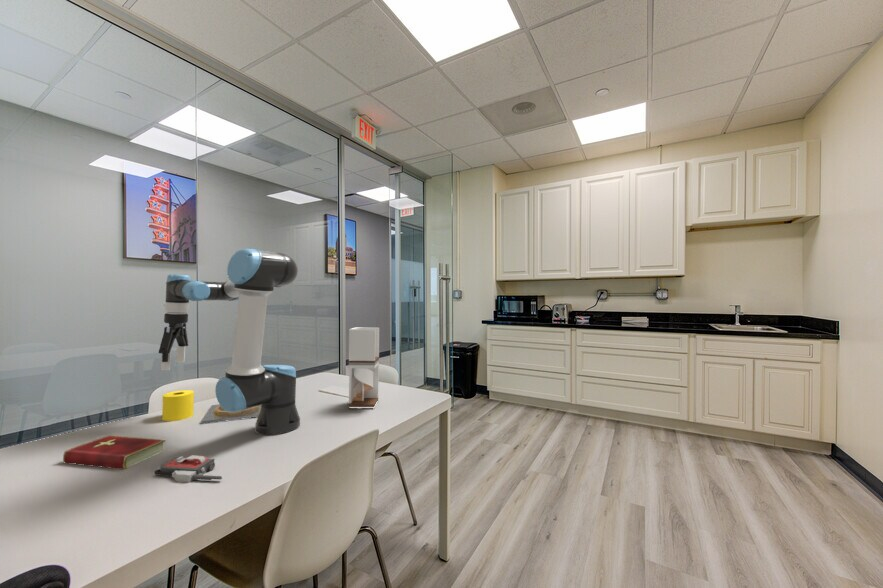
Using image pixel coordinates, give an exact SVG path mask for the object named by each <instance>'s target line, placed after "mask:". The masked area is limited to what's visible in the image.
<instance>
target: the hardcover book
mask: <svg viewBox="0 0 883 588" xmlns="http://www.w3.org/2000/svg"><path fill="white" fill-rule="evenodd" d="M165 442H166V439H159V438H148V437H147V438H145V437H137V436H136V437H134V436H125V435H124V436H123V435H122V436H121V435H120V436H119V435H114V434H113V435H112V434H111V435H106V436H104V437H100V438H97V439H95V440H91V441H89V442H86V443H83V444H80V445H77V446H74V447H72V448H69V449H66V450H64V452H63V458H62V461H63V463H64V462H65V463H64V464H69V463H76V464H75V465H78V464H84V465H83V466H88V465H93V466H92V467H98V466H102V467H101V468H107V467H111V469H117V468H118V470H127V469H128V468H130V467H133V466H135V465H136V463H137V464H139V463H141V462H143V461H145V459H146V460H148V459H150V458H152V457H154V456H157V455H158V454H161V453H163V452H164V443H165ZM156 454H157V455H156ZM149 457H150V458H149ZM147 458H148V459H147Z"/></svg>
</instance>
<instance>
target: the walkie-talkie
mask: <svg viewBox="0 0 883 588" xmlns="http://www.w3.org/2000/svg"><path fill="white" fill-rule="evenodd" d="M215 467H216V462H215V458H207V457H206V456H205V455H197V454H196V455H193V454H192V455H190V456H188V457H184V456H183V455H181V456H180V457H173V458H171V459H170V460H168V461H165V462H164V463H162V464H161V465H160V467H159V469H156V470H154V475H157V476H158V475H159V476H160V477H168V478H170V477H171V478H173V479H174V480H175V481H176V482H184V483H185V482H186V483H191V482H192V481H198V480H200V481H201V480H204V481H212V480H222V479H223V477H222V475H205V474H206V473H207V472H209V471H213V470H214V469H215Z"/></svg>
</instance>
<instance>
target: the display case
mask: <svg viewBox="0 0 883 588" xmlns="http://www.w3.org/2000/svg"><path fill="white" fill-rule="evenodd" d="M348 334H349V336H348V369H349V371H348V373H349V374H348V378H349V379H348V382H349V383H348V403H347V408H348V407H374V406H375V404H376V402H377V401H378V402H379V378H380V375H379V374H380V373H379V371H380V370H379V369H380V368H379V366H380V363H379V362H380V327H352V328H349V329H348Z"/></svg>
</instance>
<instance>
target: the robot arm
mask: <svg viewBox="0 0 883 588" xmlns="http://www.w3.org/2000/svg"><path fill="white" fill-rule="evenodd" d="M226 269H227V271H226V272H227V275H228V277H227V278H228V279H229V280H226V281H224V282H223V281H221V282H220V281H206V280H205V281H203V280H200V281H199V280H198V281H197V280H191V276H190V275H187V274H186V275H185V274H176V273H175V274H174V273H170V274H168V275H167V277H166V282H165V285H166V286H165V303H164V304H163V307H164V312H165V314H164V317H163V322H164V323H165V324H168V326H164V329H163V335H162V339H161V342H160V346H159V349H158V354H161V359H160V360H161V361H160V371H170V370H171V361H172V360H171V359H172V353H171V350H172V347H173V345H174V343H175V340H176V343H177V347H176V358H175V360H176V361H175V363H185V359H186V358H185V357H186V347H188V346H189V339H188V333H187V323H188V321H189V314H188V313H189V310H190V301H191V302H201V301H228V302H231V301H237V309H236V310H237V311H236V320H235V328H234V330H235V331H234V338H233V339H234V341H233V349H232V350H233V351H232V359H231V365H229V366H228V367H227V368H226V369H225V376H224V377H222V378H219V379H218V380H217V382H216V384H215V391H214V392H215V397H216V400H217V402H218V405H219V404H220V406H221V407H222V408H223V409H224V410H225V411H227V412H237V411H243V410H245V409H248V408H252V407H255V406H258V405H261V410H260V413H259V416H258V417H257V419H256V422H255V425H254V427H255V428H254V431H255V432H256V433H257V434H260V435H265V436H266V435H271V436H273V435H279V434H285V433H289V432H292V431H294V430H296V429H298V428H299V427H300V425H301V417H300V414H299V411H298V409H297V405H296V397H297V396H296V395H297V393H296V392H297V391H296V389H297V372H296V368H295V367H294V366H292V365H289V364H288V365H287V364H264V365H262V364H261V363H262V357H263V356H262V355H263V344H264V336H265V325H266V316H267V308H268V298H269V295H271V294H272V293H274V288H281V287H285V286H288V285H291V284H292V283H293V282H294V281H295V280H296V279H297V277H298V272H299V271H298V265H297V263H296V261H295V260H294V259H293V258H292V257H291V256H290V255H287V254H285V253H282V252H281V253H280V252H274V251H267V250H261V249H256V248H241V249H238V250H236V251H235V253H234V254H232V256H231V258H230V259H229V261H228V264H227V268H226Z"/></svg>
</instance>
